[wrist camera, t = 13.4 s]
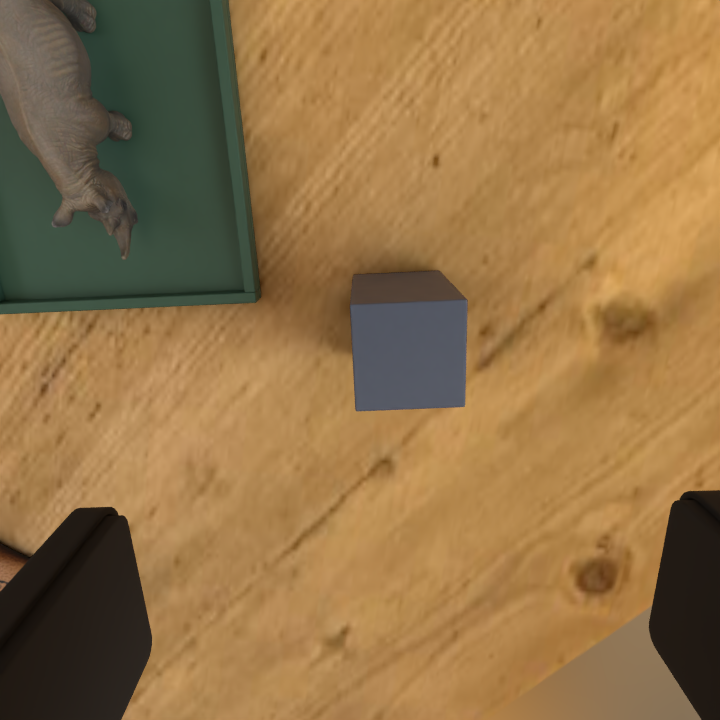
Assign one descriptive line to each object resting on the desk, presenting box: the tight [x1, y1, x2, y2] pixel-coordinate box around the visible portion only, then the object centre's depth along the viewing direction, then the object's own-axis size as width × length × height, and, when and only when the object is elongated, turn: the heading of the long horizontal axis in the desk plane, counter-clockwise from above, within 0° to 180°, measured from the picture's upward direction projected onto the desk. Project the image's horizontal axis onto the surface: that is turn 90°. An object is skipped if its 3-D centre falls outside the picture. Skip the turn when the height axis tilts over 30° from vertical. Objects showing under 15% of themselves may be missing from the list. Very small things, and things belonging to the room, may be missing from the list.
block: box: [350, 271, 467, 411], centre depth 26 cm, size 5×5×8 cm
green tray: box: [0, 0, 261, 314], centre depth 26 cm, size 19×15×2 cm
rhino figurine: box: [0, 0, 138, 260], centre depth 23 cm, size 4×14×6 cm, turn 13°
